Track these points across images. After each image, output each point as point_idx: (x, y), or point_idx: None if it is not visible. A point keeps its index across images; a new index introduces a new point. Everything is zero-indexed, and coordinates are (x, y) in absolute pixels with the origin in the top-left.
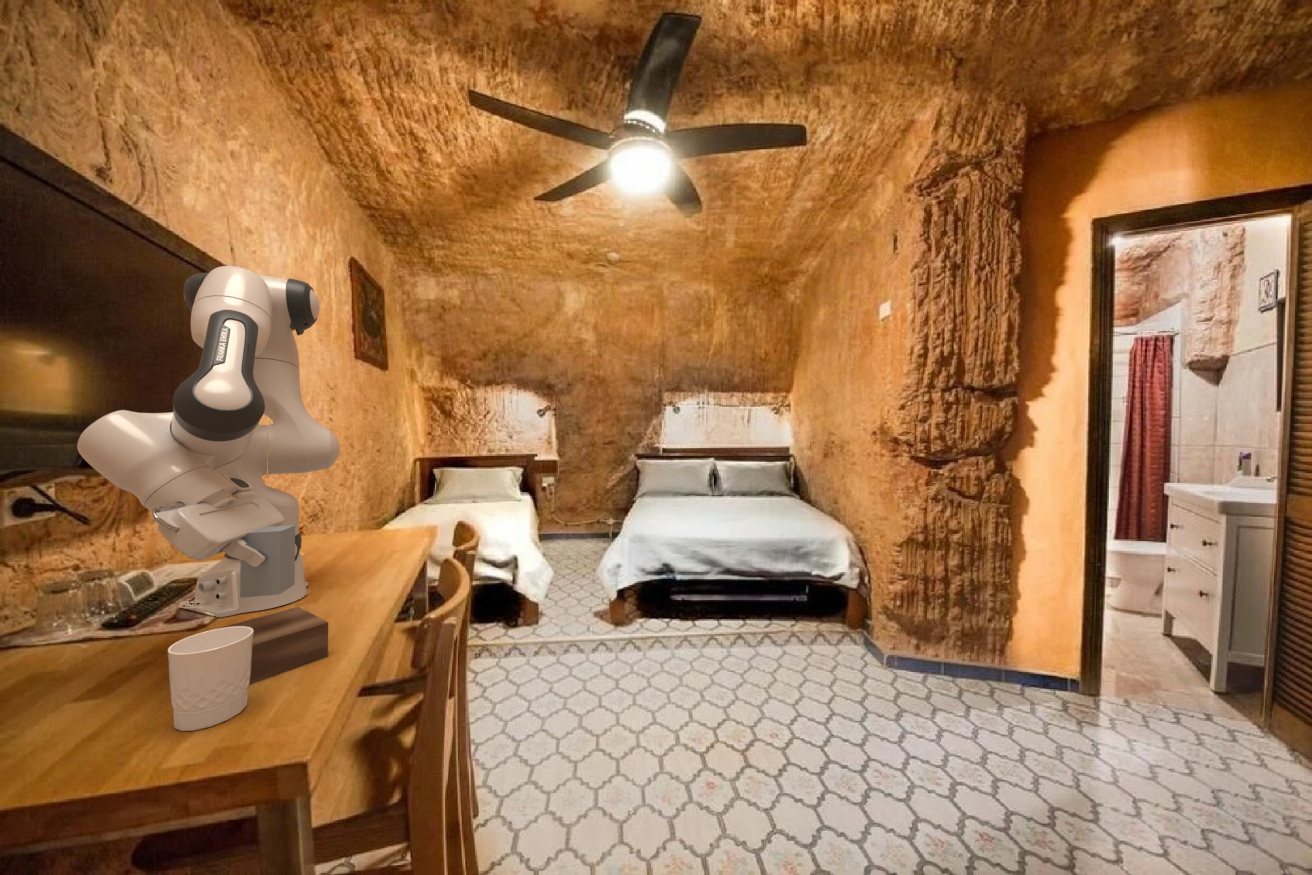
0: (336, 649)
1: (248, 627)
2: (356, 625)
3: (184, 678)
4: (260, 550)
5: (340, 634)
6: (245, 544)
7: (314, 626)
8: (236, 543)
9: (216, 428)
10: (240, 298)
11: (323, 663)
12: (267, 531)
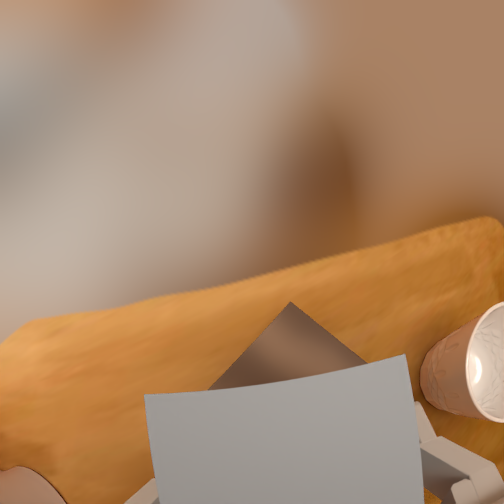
0: (264, 319)
1: (473, 337)
2: (159, 333)
3: None
4: None
5: (196, 345)
6: (455, 485)
7: (310, 319)
8: (501, 486)
9: None
10: None
11: (319, 311)
12: (406, 447)
